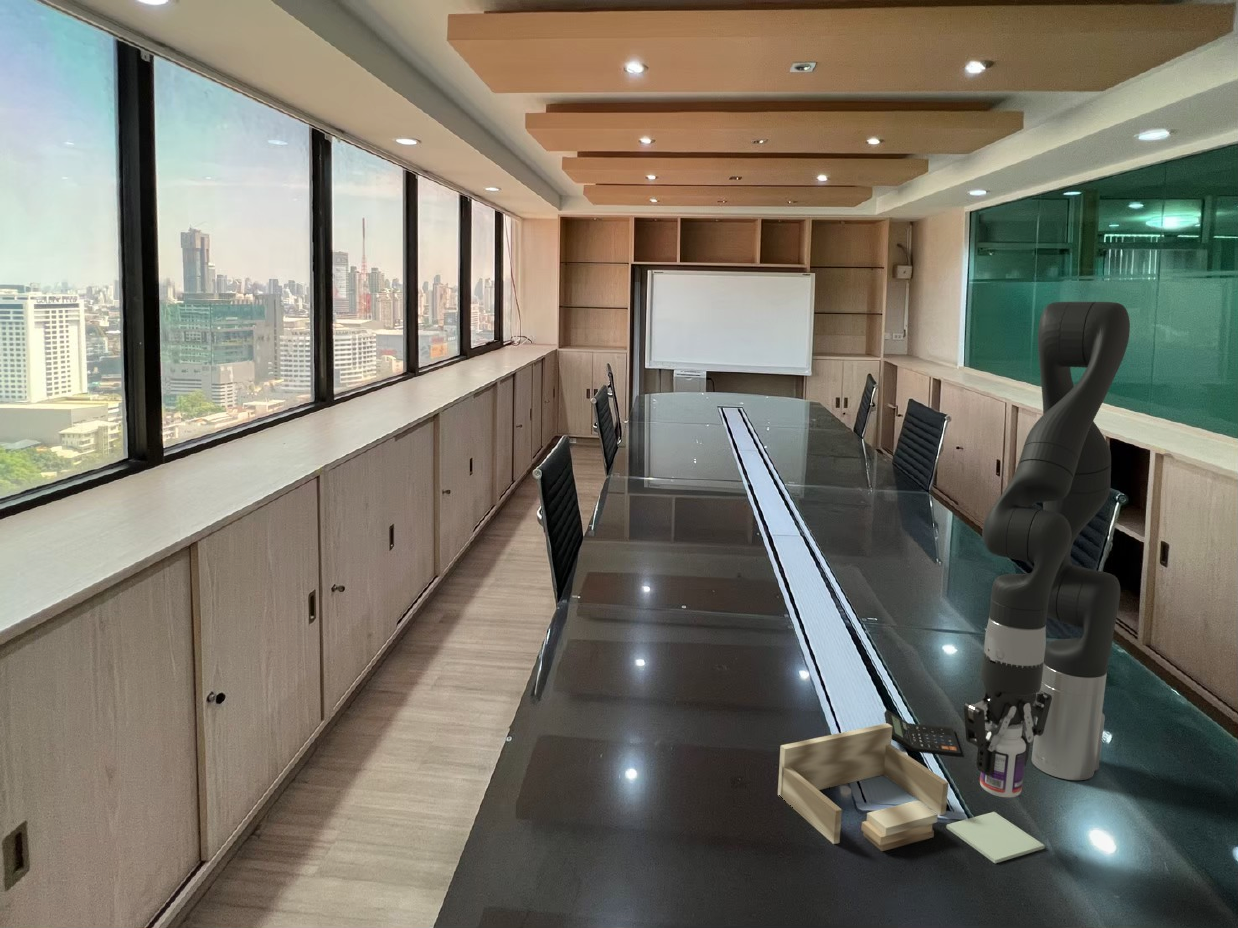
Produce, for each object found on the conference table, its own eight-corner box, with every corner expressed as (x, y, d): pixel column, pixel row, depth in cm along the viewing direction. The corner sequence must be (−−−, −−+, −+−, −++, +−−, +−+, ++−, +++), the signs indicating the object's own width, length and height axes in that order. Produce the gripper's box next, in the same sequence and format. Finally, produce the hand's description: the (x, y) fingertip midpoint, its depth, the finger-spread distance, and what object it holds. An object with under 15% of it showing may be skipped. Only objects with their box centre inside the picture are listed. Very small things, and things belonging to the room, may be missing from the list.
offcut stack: (915, 822, 133) (917, 800, 132) (935, 837, 129) (937, 814, 129) (860, 837, 129) (862, 814, 128) (879, 853, 125) (881, 829, 125)
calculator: (960, 758, 152) (962, 741, 152) (887, 749, 154) (888, 733, 154) (952, 732, 161) (953, 716, 161) (883, 725, 164) (884, 709, 163)
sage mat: (993, 814, 135) (994, 811, 135) (1044, 848, 127) (1044, 845, 127) (946, 827, 131) (946, 824, 131) (995, 863, 123) (995, 860, 123)
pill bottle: (1010, 778, 131) (1017, 714, 129) (1028, 798, 125) (1035, 732, 123) (972, 778, 130) (979, 713, 129) (989, 798, 125) (995, 731, 123)
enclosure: (883, 769, 147) (887, 723, 146) (945, 814, 135) (950, 763, 133) (777, 794, 139) (780, 745, 138) (833, 844, 127) (837, 790, 125)
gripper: (1030, 636, 130) (1018, 747, 134) (952, 649, 125) (941, 765, 128) (1075, 655, 124) (1061, 771, 127) (995, 670, 118) (982, 792, 121)
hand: (1001, 768), depth 127 cm, fingers closed on pill bottle, 5 cm apart
